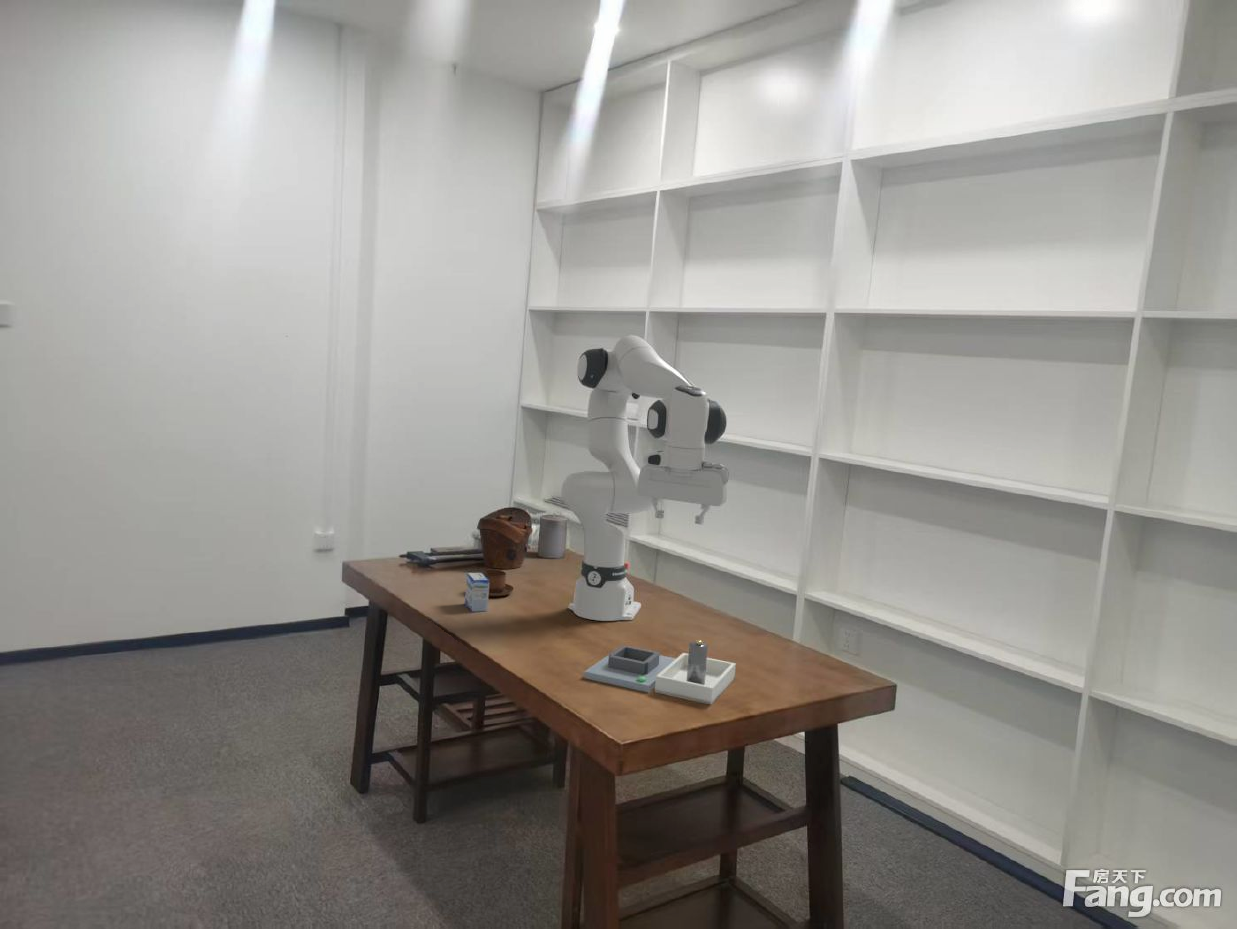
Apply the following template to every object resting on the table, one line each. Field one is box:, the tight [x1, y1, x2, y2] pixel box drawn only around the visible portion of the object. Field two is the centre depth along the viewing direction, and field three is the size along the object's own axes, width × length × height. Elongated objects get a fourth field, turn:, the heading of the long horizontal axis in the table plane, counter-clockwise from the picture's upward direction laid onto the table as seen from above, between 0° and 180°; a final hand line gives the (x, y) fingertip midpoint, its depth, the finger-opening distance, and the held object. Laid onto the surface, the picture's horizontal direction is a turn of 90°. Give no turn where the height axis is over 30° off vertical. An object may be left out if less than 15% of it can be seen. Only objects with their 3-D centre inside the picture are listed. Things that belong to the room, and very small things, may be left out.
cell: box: [687, 639, 709, 685], centre depth 191 cm, size 4×4×9 cm
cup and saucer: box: [479, 569, 514, 597], centre depth 253 cm, size 12×12×6 cm
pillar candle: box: [537, 513, 569, 560], centre depth 307 cm, size 10×10×15 cm
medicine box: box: [464, 572, 489, 613], centre depth 238 cm, size 8×4×9 cm, turn 23°
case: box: [476, 506, 533, 570], centre depth 288 cm, size 18×20×18 cm
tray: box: [654, 652, 737, 706], centre depth 192 cm, size 18×12×4 cm
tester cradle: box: [583, 644, 677, 693], centre depth 197 cm, size 20×15×4 cm
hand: (679, 521), depth 198 cm, fingers open, 8 cm apart
